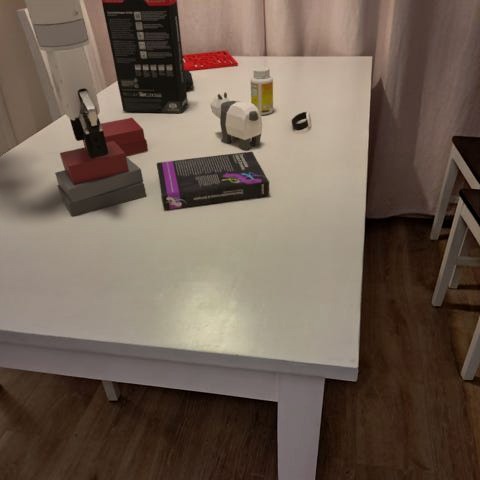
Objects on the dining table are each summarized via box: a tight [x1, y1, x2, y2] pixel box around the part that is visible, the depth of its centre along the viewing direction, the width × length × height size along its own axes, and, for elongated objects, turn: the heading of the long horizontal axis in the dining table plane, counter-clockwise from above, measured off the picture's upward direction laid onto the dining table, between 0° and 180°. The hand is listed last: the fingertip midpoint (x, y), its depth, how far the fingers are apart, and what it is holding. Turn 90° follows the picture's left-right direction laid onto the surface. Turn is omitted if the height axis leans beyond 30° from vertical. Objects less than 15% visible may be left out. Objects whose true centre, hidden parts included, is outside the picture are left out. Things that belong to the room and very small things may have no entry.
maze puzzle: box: [183, 50, 239, 71], centre depth 164 cm, size 20×20×1 cm
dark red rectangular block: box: [59, 141, 129, 185], centre depth 84 cm, size 10×7×3 cm
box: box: [156, 151, 271, 211], centre depth 88 cm, size 14×4×20 cm
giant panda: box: [209, 91, 263, 151], centre depth 103 cm, size 15×6×10 cm, turn 42°
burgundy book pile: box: [82, 117, 149, 157], centre depth 103 cm, size 12×9×5 cm
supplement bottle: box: [250, 66, 274, 116], centre depth 117 cm, size 6×6×10 cm
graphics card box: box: [101, 0, 189, 114], centre depth 117 cm, size 17×7×27 cm, turn 80°
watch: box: [291, 110, 312, 131], centre depth 110 cm, size 8×5×4 cm, turn 168°
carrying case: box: [184, 70, 194, 92], centre depth 141 cm, size 11×3×15 cm
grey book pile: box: [54, 156, 147, 217], centre depth 86 cm, size 14×10×5 cm
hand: (91, 147), depth 82 cm, fingers open, 9 cm apart
